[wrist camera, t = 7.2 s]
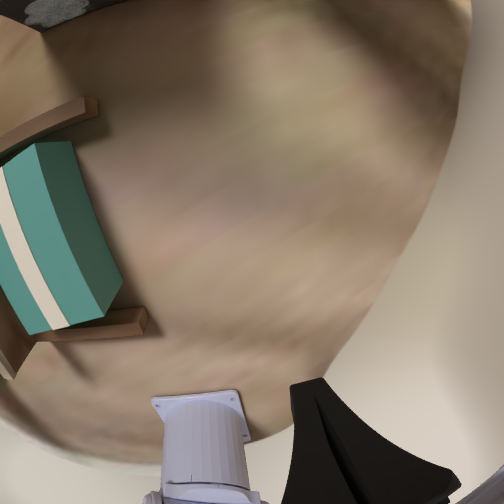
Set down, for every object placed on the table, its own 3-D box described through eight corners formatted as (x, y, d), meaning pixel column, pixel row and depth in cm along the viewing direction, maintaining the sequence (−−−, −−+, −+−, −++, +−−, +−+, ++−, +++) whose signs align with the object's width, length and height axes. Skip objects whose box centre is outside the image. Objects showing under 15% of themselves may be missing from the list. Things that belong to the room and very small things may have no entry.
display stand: (148, 317, 19) (129, 385, 13) (38, 327, 18) (4, 378, 12) (97, 100, 13) (38, 83, 7) (-16, 155, 12) (-75, 170, 6)
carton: (124, 279, 18) (103, 317, 13) (55, 301, 18) (28, 335, 13) (73, 140, 14) (33, 143, 10) (5, 183, 14) (-34, 197, 10)
